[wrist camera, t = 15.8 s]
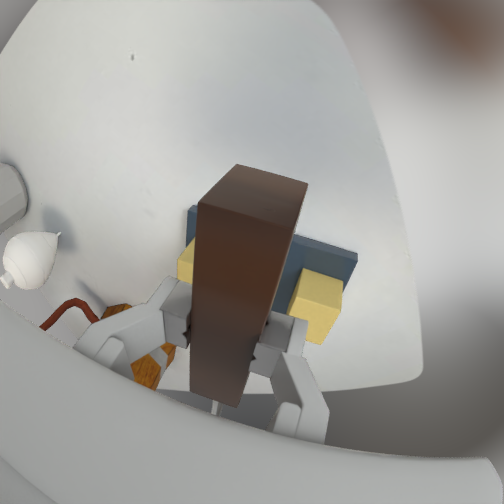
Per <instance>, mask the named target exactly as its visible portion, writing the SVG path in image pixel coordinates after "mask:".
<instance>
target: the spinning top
mask: <svg viewBox="0 0 504 504" xmlns="http://www.w3.org/2000/svg"><path fill="white" fill-rule="evenodd" d="M60 234H61V232H59V233H57V234H55V233H50V232H39V231H30V232H23V233H19V234H16V235H15V236H13V237H12V238H11V239H10V240H9V241H8V243H7V245H6V247H5V250H4V256H3V265H4V269H5V271H6V272H5V273H4V274H3V275H1V276H0V280H1V282H2V284H3V285H4V286H5V287H6V288H7V289H9V288H10V287H11V285H12V284H13V283H14V284H15V285H16V286H18V287H19V288H22V289H36V288H39V287H41V286H42V285H44V284H45V282H46V281H47V280H48V278H49V276H50V274H51V271H52V268H53V265H54V260H55V256H56V251H57V244H58V236H59V235H60Z"/></svg>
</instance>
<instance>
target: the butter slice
mask: <svg viewBox="0 0 504 504" xmlns="http://www.w3.org/2000/svg"><path fill="white" fill-rule="evenodd" d="M342 291H343V281H342V280H338V279H335V278H332V277H329V276H326V275H323V274H320V273H317V272H314V271H311V270H308V269H305V268H303V269H302V272H301V274H300V277H299V279H298V282H297V285H296V287H295V290H294V292H293V295H292V297H291V300H290V302H289V305H288V309H287V313H286V314H287V315H290V316H294V318H295V317H297V318H300V319H304V320H307V321H308V323H309V324H308V329H307V334H306V339H305V340H306V341H309V342H312V343H316V344H319V345H321V344H322V342H323V341H324V339H325V338H326V336H327V334H328V332H329V331H330V329H331V327H332V326H333V324H334V322H335V321H336V319H337V317H338V315H339V314H340V312H341V305H342Z"/></svg>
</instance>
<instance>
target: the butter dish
mask: <svg viewBox="0 0 504 504" xmlns="http://www.w3.org/2000/svg"><path fill="white" fill-rule="evenodd" d="M196 217H197V206H195V205H193V206H192V207H191V208H190V209H189V210H188V216H187V235H186V248H187V246H188V245H189V244H190V242H191V241H192V240H193V239H194V237H195V230H196ZM357 262H358V254H357V253H353V252H350V251H347V250H344V249H341V248H338V247H334V246H331V245H328V244H325V243H322V242H318V241H315V240H312V239H309V238H305V237H302V236H299V235H295V234H294V236H293V239H292V243H291V246H290V250H289V253H288V256H287V259H286V263H285V266H284V269H283V273H282V276H281V279H280V282H279V285H278V289H277V292H276V295H275V298H274V301H273V305H272V308H271V310H273V311H276V312H280V313H283V314H286V313H287V309H288V305H289V302H290V300H291V297H292V295H293V292H294V290H295V287H296V285H297V282H298V279H299V277H300V274H301V272H302V269H303V268H305V269H308V270H311V271H314V272H317V273H320V274H323V275H326V276H329V277H332V278H335V279H338V280H342V281H343V291H344V289H345V287H346V285H347V283H348V281H349V279H350V277H351V275H352V272H353V270H354V268H355V266H356V264H357ZM343 291H342V293H343Z"/></svg>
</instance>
